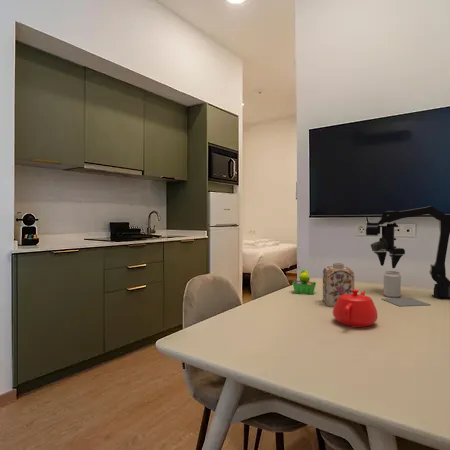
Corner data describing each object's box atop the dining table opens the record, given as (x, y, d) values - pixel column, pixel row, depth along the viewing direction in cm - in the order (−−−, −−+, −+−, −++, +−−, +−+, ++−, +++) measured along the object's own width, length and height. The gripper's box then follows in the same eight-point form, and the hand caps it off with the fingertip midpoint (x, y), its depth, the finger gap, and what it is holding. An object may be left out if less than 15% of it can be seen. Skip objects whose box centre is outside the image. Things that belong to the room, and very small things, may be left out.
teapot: (369, 335, 116) (370, 299, 116) (323, 327, 125) (323, 293, 125) (384, 317, 137) (385, 286, 136) (343, 311, 145) (344, 281, 145)
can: (403, 298, 168) (403, 272, 167) (387, 298, 168) (387, 272, 167) (396, 294, 175) (396, 270, 175) (381, 294, 175) (381, 270, 175)
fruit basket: (292, 293, 178) (292, 271, 177) (294, 290, 186) (294, 268, 186) (315, 295, 174) (315, 272, 174) (316, 291, 183) (316, 269, 182)
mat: (411, 298, 167) (411, 297, 167) (430, 305, 155) (430, 304, 155) (381, 299, 165) (381, 298, 165) (398, 306, 153) (398, 305, 153)
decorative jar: (348, 300, 163) (348, 261, 163) (355, 307, 152) (355, 265, 151) (321, 299, 165) (322, 261, 164) (326, 306, 153) (326, 265, 153)
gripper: (362, 235, 186) (362, 264, 186) (384, 237, 167) (384, 270, 168) (382, 234, 188) (382, 264, 188) (405, 237, 169) (405, 269, 170)
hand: (387, 266), depth 178 cm, fingers open, 9 cm apart
